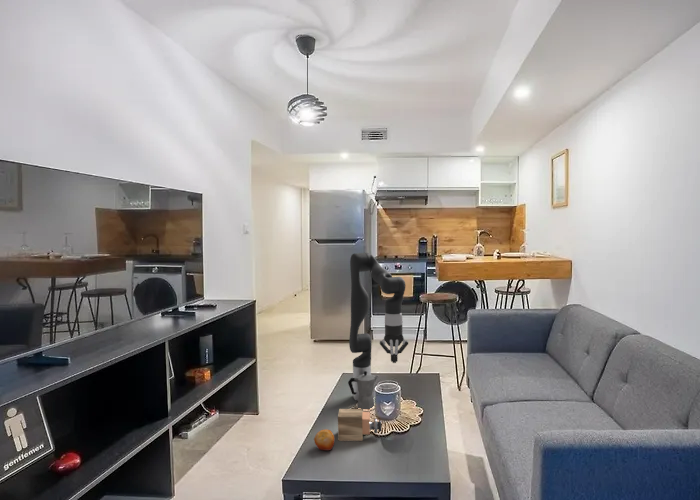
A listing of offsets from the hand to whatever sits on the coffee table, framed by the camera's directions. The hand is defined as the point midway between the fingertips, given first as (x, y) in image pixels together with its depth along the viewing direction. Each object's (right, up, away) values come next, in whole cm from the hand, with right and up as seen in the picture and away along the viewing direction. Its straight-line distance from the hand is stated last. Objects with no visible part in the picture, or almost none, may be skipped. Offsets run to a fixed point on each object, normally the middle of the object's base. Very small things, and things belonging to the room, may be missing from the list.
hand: (394, 362), depth 188 cm
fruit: (-29, -31, -15) cm, 45 cm away
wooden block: (-19, -30, -5) cm, 36 cm away
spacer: (-12, -27, -6) cm, 30 cm away
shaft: (-15, -28, -6) cm, 32 cm away
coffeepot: (-12, -28, +22) cm, 38 cm away
